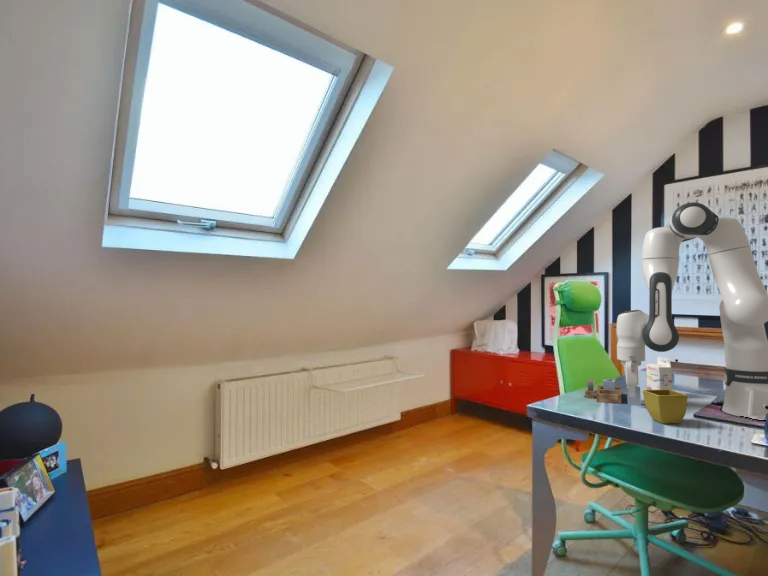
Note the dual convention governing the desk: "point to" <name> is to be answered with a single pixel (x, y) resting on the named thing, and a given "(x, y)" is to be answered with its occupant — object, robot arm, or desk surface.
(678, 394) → the flower pot
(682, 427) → the desk surface
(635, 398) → the loose jaw
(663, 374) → the ink cartridge box
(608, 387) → the seated jaw
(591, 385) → the latch bar
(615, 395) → the housing
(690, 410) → the desk surface
